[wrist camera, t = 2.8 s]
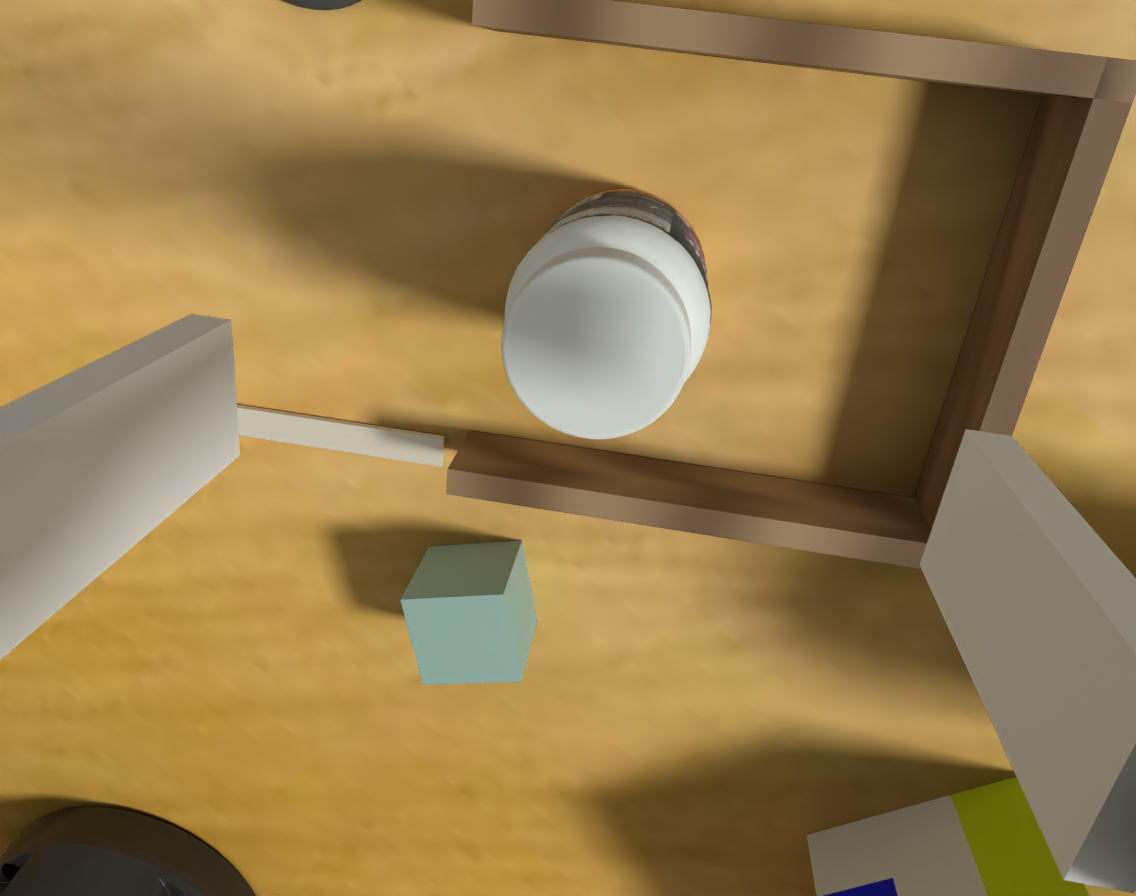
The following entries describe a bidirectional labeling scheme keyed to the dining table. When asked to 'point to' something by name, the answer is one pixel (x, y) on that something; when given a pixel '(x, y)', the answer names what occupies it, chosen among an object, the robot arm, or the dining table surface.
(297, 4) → the drain disc
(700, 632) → the dining table surface
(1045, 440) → the dining table surface
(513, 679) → the teal block
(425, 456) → the strip
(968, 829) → the puzzle toy
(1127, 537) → the dining table surface
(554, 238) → the pill bottle
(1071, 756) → the robot arm
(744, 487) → the cubby
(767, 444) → the dining table surface
